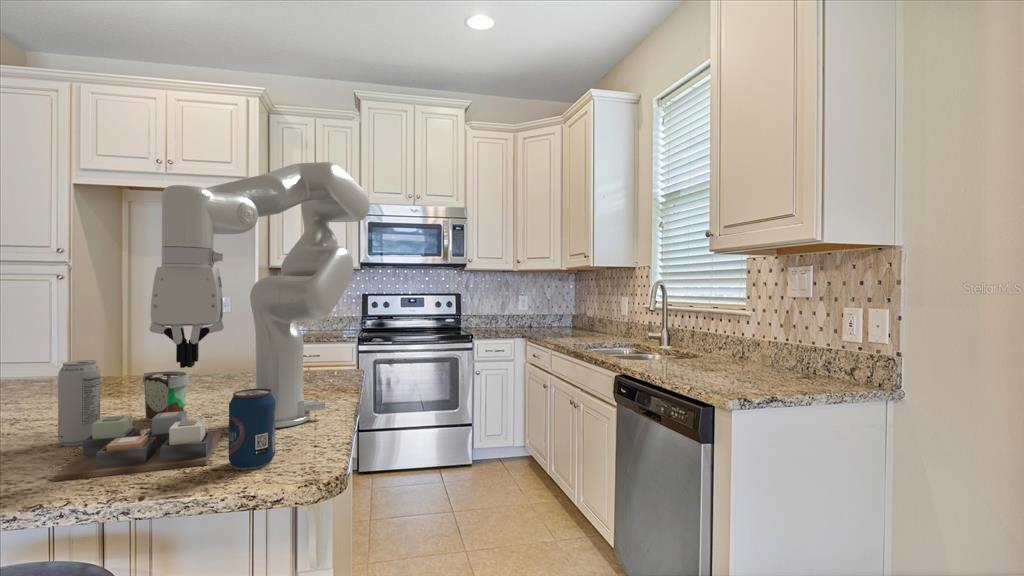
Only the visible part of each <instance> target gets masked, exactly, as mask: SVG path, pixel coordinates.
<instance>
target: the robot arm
mask: <svg viewBox="0 0 1024 576" xmlns="http://www.w3.org/2000/svg"><path fill="white" fill-rule="evenodd" d="M369 199H370V198H369V197H368V195H367V193H366V191H365V190H364V188H363V187H361V186H360V184H358V182H357V181H356V180H355V179H353V177H352V176H351V175H349V173H348V172H347V171H345V170H344V169H343V168H341V166H339V165H337V164H336V163H333V162H330V161H323V162H322V161H320V162H319V161H318V162H317V161H316V162H299V163H293V164H290V165H286V166H284V167H281V168H278V169H275V170H272V171H269V172H267V173H263V174H259V175H256V176H250V177H247V178H243V179H238V180H235V181H230V182H224V183H221V184H217V185H212V186H209V187H202V186H201V187H200V186H196V185H195V186H194V185H188V184H187V185H186V184H185V185H183V184H172V185H168V186H165V187H164V189H163V191H162V193H161V266H157V267H156V269H155V274H154V279H153V283H152V292H151V301H150V321H151V323H150V327H149V331H150V332H151V333H154V334H160V335H165V336H167V337H168V338H169V339H170V340H171V341H173V343H174V344H175V345H176V349H175V350H176V351H175V352H176V355H175V357H176V363H179V368H181V369H185V368H189V369H190V368H193V367H195V363H197V362H199V351H200V350H199V349H200V348H199V343H200V342H201V340H203V339H204V338H205V337H206V336H207V335H209V334H213V333H217V332H221V331H222V330H224V328H225V326H224V322H223V316H224V299H223V286H222V278H221V273H220V269H219V267H214V265H215V263H216V262H223V261H224V254H223V253H218V252H216V251H215V249H214V247H215V246H214V241H215V240H214V239H215V238H214V237H215V236H214V235H240V234H244V233H247V232H249V231H251V230H252V229H253V228H254V227H255V226H256V225H257V222H258V219H259V218H260V217H268V216H269V217H270V216H273V215H278V214H281V213H283V212H286V211H288V210H289V209H293V208H294V207H296V206H298V205H300V209H301V215H302V222H303V233H302V235H301V236H300V238H299V239H298V241H297V242H296V243H295V244H294V245H293V247H292V248H291V249H290V250H289V252H288V253H287V255H285V257H284V259H283V261H282V263H281V265H280V266H281V267H280V274H281V275H270V276H269V275H268V276H266V277H262V278H260V279H259V280H258V281H256V282H255V283H254V285H253V286H252V287H251V290H250V293H249V295H250V296H249V299H250V300H249V301H250V307H251V311H252V312H251V313H252V317H253V321H254V322H253V323H254V331H255V332H254V335H255V336H254V337H255V347H254V348H255V351H254V352H255V360H254V361H255V362H254V363H255V366H254V371H255V372H254V373H255V374H254V379H255V380H254V381H255V382H254V385H255V387H254V389H259V388H261V389H270V390H271V391H272V395H273V397H274V399H275V429H279V428H286V427H293V426H297V425H300V424H303V423H306V422H308V421H309V420H310V419H311V412H310V411H313V412H314V411H326V401H324V400H323V401H319V400H311V401H310V400H305V395H304V338H303V334H302V330H301V329H300V327H299V325H298V323H297V322H296V321H320V320H324V319H326V318H328V317H329V315H330V314H331V313H332V312H333V310H334V309H335V307H336V306H337V304H338V302H339V301H340V299H341V298H342V296H343V295H344V293H345V291H346V289H347V288H348V286H349V284H350V282H351V280H352V279H353V275H354V260H353V257H352V254H351V253H350V252H349V250H348V249H347V248H345V247H342V246H341V245H339V244H338V238H337V236H336V235H335V233H334V232H333V230H332V229H331V228H330V224H329V223H355V222H356V223H357V222H361V221H363V220H364V219H366V218H367V216H368V215H369V212H370V204H371V203H370V200H369ZM185 326H188V327H189V326H192V327H191V332H190V333H191V334H190V338H189V340H188V339H187V338H186V334H185V328H184V327H185Z"/></svg>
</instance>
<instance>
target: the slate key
mask: <svg viewBox="0 0 1024 576" xmlns="http://www.w3.org/2000/svg"><path fill="white" fill-rule="evenodd" d="M187 412H188V411H187V410H184V411H181V412H168V413H158V414H157V415H156V416H155V417H154V418H153V419H152V421H151V428H152V434H162V433H169V429H170V427H171V426H172V425H173V424H174V423H175V422H181V421H188V418H187V417H188V416H187V415H188V413H187Z"/></svg>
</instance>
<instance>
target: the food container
mask: <svg viewBox="0 0 1024 576" xmlns="http://www.w3.org/2000/svg"><path fill="white" fill-rule="evenodd" d="M142 383H143V384H144V399H145V400H144V402H145V403H144V405H145V419H146V420H147V421H151V422H152V419H153V418H154V417H155V416H156V415H157V414H158V413H168V412H181V411H185V403H186V391H187V385H189V384H190V383H191V382H190V378H189V375H188V374H187V372H185V371H175V370H174V371H170V370H166V371H152V372H151V371H149V372H144V373H143V377H142Z"/></svg>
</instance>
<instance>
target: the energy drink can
mask: <svg viewBox="0 0 1024 576" xmlns="http://www.w3.org/2000/svg"><path fill="white" fill-rule="evenodd" d="M57 375H58V376H57V379H58V380H57V381H58V382H57V387H58V390H57V391H58V392H57V393H58V394H57V395H58V397H57V398H58V400H57V406H58V407H57V412H58V413H57V416H58V417H57V424H58V425H57V426H58V427H57V436H58V437H57V440H58V442H60V443H61V445H62V446H64V447H77V446H83V441H84V440H85V439H87V438H88V437H89V436H91V435H92V428H93V423H94V422H96V421H97V420H99V419H100V418H101V369H100V366H98V364H97V360H94V359H93V360H92V359H91V360H90V359H87V360H86V359H85V360H71V361H65V362H62V366H61V368H60V370H59V371H58V374H57Z"/></svg>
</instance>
